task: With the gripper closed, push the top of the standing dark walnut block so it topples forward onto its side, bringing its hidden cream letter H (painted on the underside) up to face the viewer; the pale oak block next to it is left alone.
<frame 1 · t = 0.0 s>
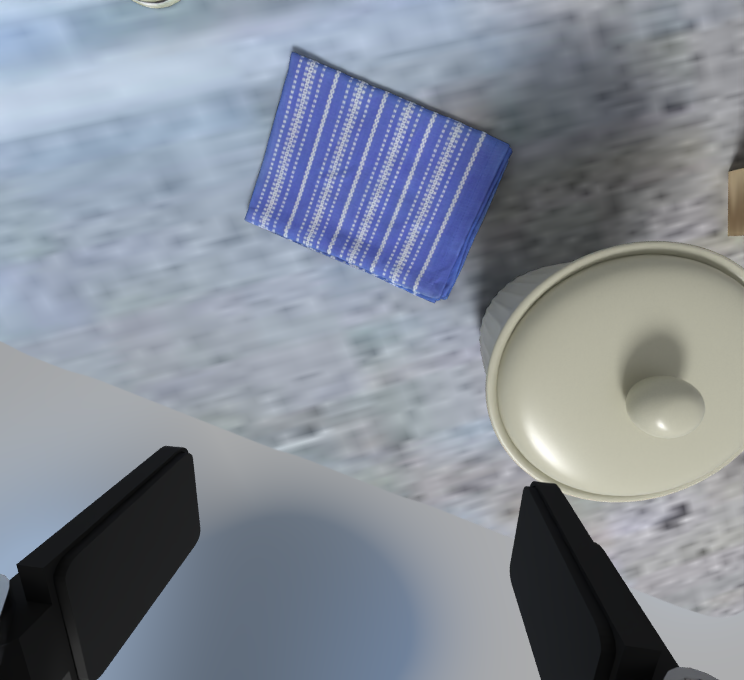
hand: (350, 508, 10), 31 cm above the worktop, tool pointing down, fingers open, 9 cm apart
canister: (538, 328, 39), on the worktop
dish towel: (373, 189, 37), on the worktop
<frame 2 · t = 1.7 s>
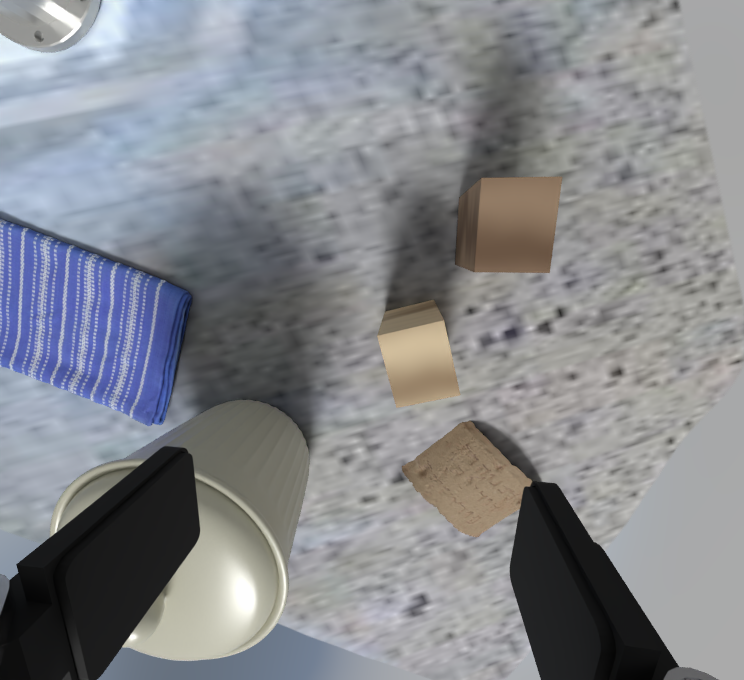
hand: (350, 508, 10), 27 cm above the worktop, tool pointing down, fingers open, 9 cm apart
canister: (258, 444, 41), on the worktop
dish towel: (89, 324, 40), on the worktop
oak block: (415, 333, 36), on the worktop
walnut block: (484, 231, 33), on the worktop
clay tablet: (471, 475, 41), on the worktop
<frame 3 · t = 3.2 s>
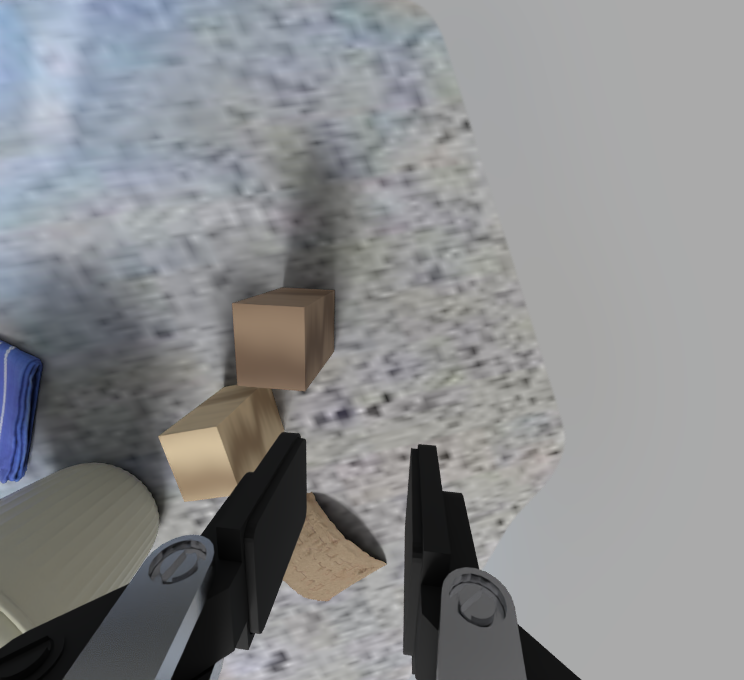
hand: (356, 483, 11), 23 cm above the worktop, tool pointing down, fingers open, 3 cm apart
canister: (117, 502, 42), on the worktop
oak block: (254, 409, 37), on the worktop
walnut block: (309, 319, 34), on the worktop
clay tablet: (320, 542, 42), on the worktop
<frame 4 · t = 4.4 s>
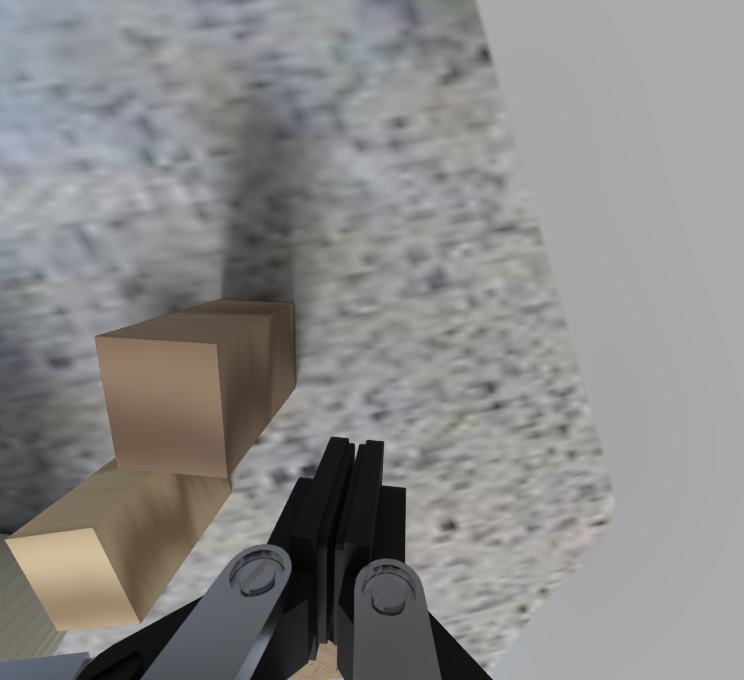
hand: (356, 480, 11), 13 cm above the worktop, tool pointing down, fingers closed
canister: (19, 577, 32), on the worktop
oak block: (190, 463, 27), on the worktop
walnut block: (259, 344, 24), on the worktop
clay tablet: (287, 626, 32), on the worktop
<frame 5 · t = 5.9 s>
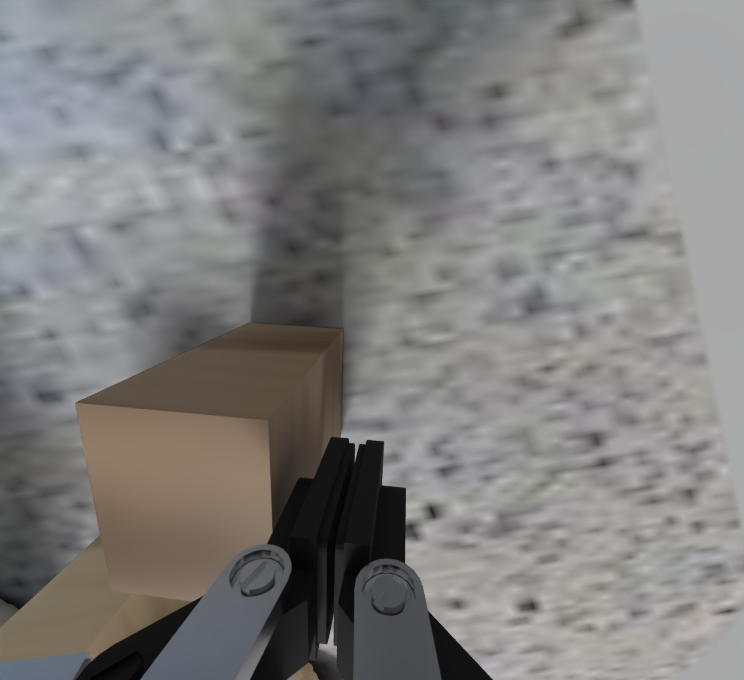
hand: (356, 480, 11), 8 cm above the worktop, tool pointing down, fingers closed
oak block: (206, 520, 22), on the worktop
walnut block: (297, 379, 19), on the worktop, touching gripper
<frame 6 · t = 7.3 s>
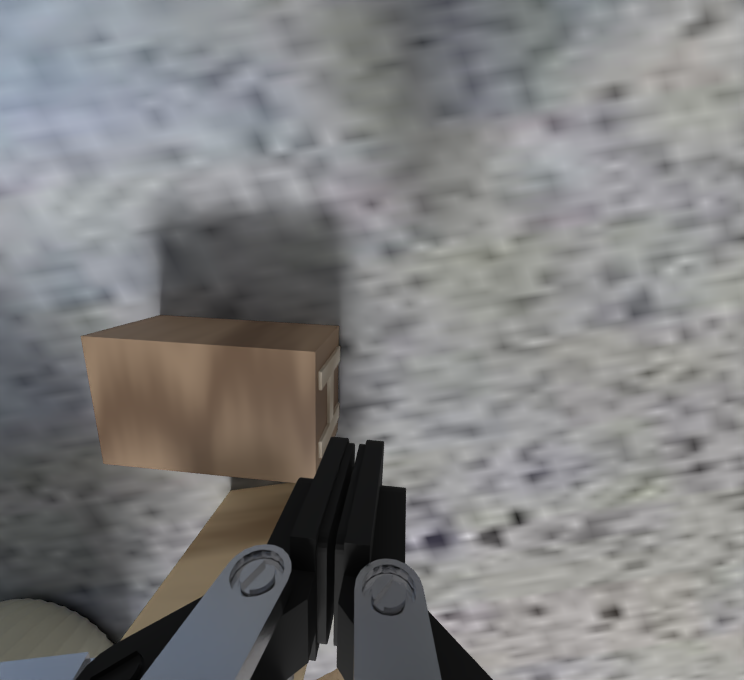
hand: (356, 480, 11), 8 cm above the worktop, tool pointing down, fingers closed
canister: (62, 648, 27), on the worktop
oak block: (282, 526, 22), on the worktop
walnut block: (331, 397, 17), point 2 cm above the worktop, tilted 90°
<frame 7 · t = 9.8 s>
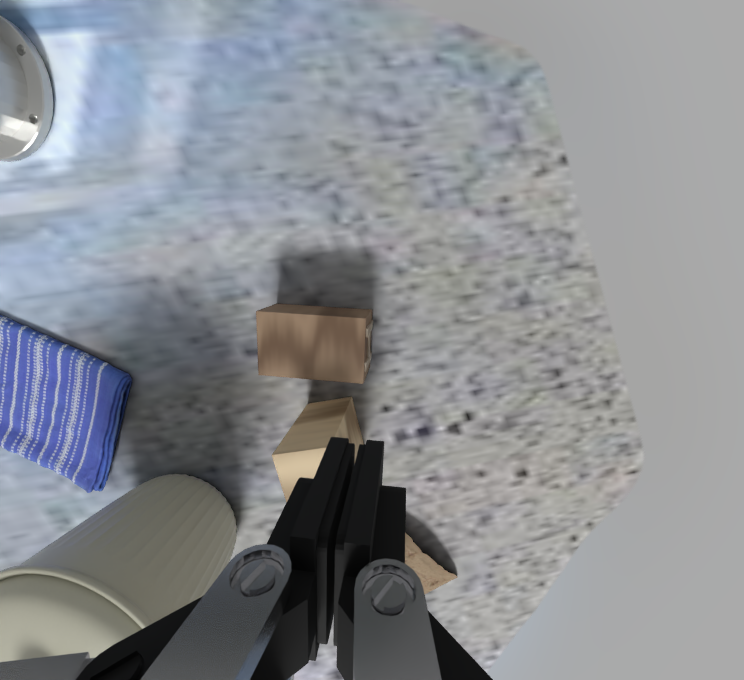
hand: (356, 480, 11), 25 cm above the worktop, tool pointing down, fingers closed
canister: (193, 511, 44), on the worktop
dish towel: (40, 393, 43), on the worktop
oak block: (336, 425, 38), on the worktop
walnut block: (369, 344, 33), point 2 cm above the worktop, tilted 90°
clay tablet: (391, 554, 43), on the worktop
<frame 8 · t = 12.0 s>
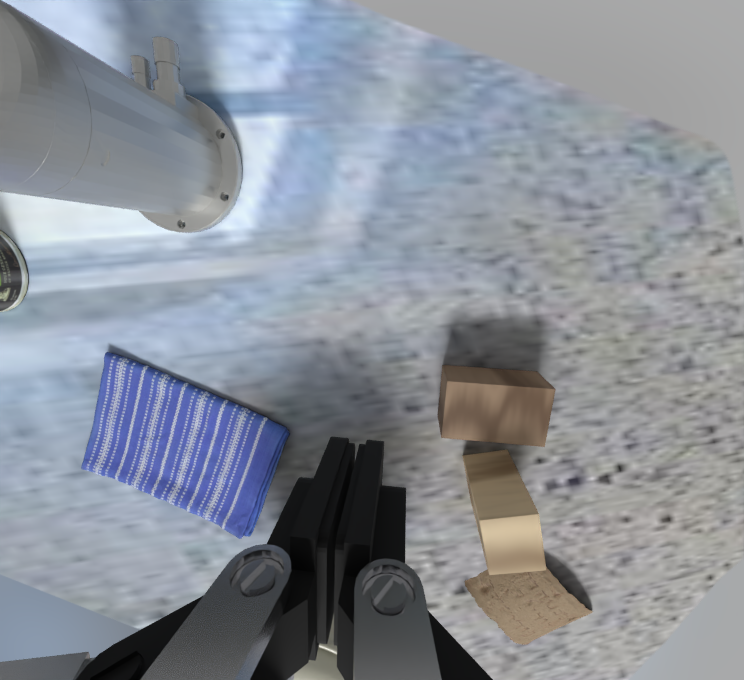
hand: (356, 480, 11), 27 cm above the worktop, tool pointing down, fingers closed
canister: (334, 553, 46), on the worktop
dish towel: (189, 443, 45), on the worktop
oak block: (488, 475, 41), on the worktop
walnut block: (541, 407, 35), point 2 cm above the worktop, tilted 90°
clay tablet: (526, 590, 45), on the worktop
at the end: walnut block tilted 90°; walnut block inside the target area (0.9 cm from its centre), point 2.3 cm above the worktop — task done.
